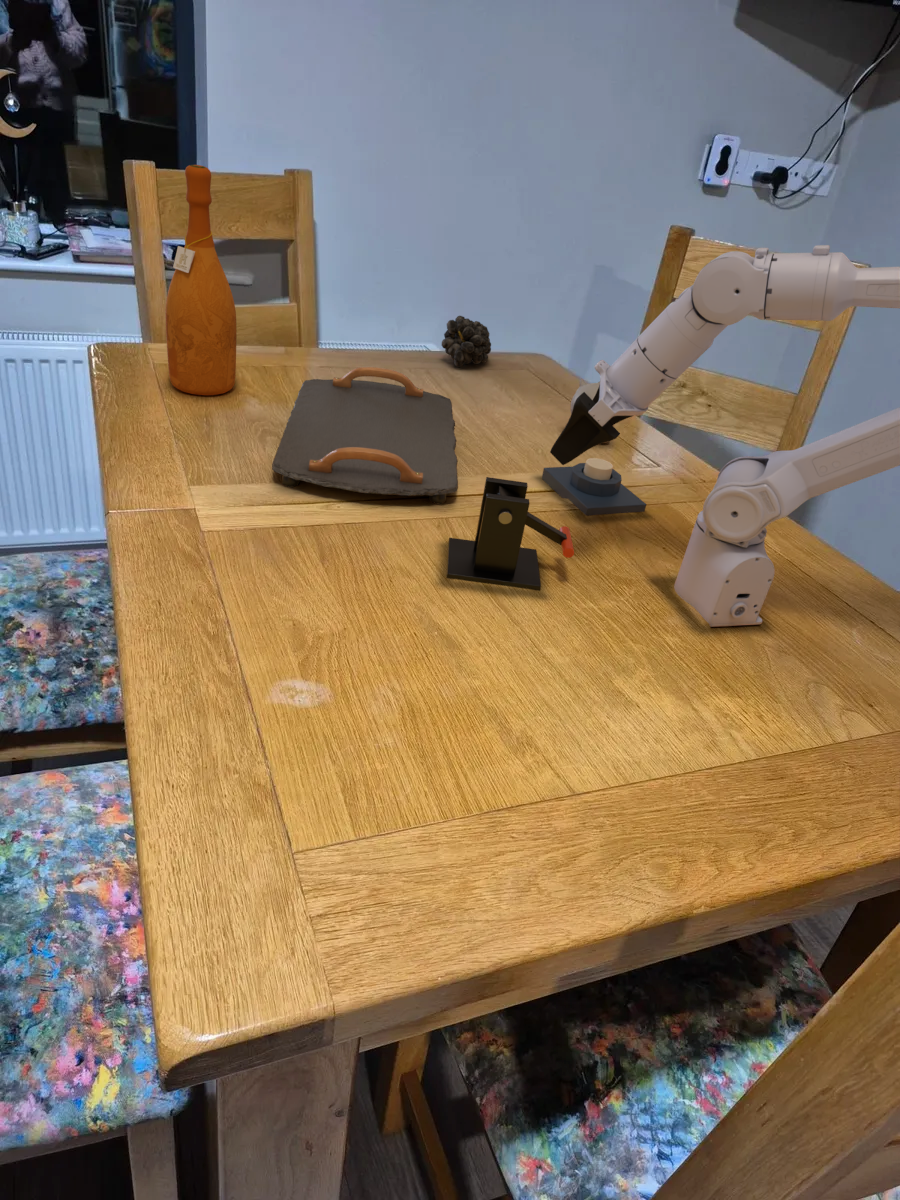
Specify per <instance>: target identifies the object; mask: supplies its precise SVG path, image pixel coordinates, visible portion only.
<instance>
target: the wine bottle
mask: <svg viewBox="0 0 900 1200" xmlns="http://www.w3.org/2000/svg"><path fill="white" fill-rule="evenodd" d="M184 176H185V181H186V183H185V185H186V194H185V201H186V202H187V203H188V222H187V223H188V224H187V225H188V226H187V230H186V234H185V236H184V247H183V246H180V245H178V246H177V249H176V253H175V257H174V262H173V266H172V268H173V269H175V270H174V272H173V275H172V277H171V280H170V283H169V287H168V291H167V295H166V299H165V301H166V302H165V335H166V336H165V337H166V351H167V352H166V353H167V365H168V366H167V367H168V375H169V381H170V383H171V385H172V386H173V387H174V388H175V389H177V390H178V391H181V392H184V393H185V394H191V395H197V396H217V395H222V394H225V393H227V392H230V391H231V390H232V389H233V388H234V386H235V383H236V373H237V371H236V370H237V311H236V310H237V309H236V304H235V300H234V296H233V292H232V290H231V286H230V284H229V281H228V278H227V276H226V273H225V271H224V269H223V266H222V264H221V261H220V259H219V256H218V253H217V251H216V248H215V247H216V246H215V242H214V237H213V231H212V228H211V220H210V219H211V218H210V217H211V216H210V205H212V203H213V202H212V201H213V200H212V195H211V184H212V183H211V182H212V172H211V170H210V169H209V168H208V167H206V166H205V165H200V164H189V165H187V166H186V167H185V170H184Z"/></svg>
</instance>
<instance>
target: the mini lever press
mask: <svg viewBox="0 0 900 1200" xmlns="http://www.w3.org/2000/svg"><path fill="white" fill-rule="evenodd" d="M499 486H501V487H503V488H504V489H506V490H508V491H509V492H511V493H513V494H514V495H516V496H518V497H519V498H517V497H510V496H503V495H496V494H494V493H495V491H496V490H497V489H498V487H499ZM528 487H529V486H528V482H524V481H517V480H511V479H504V478H503V479H502V478H496V477H489V476H486V478H485V482H484V488H483V494H482V498H481V499H482V500H481V505H480V510H479V516H478V520H477V528H476V533H475V538H474V540H470V539H463V538H456V537H448V543H447V545H448V547H447V559H446V560H447V562H446V563H447V564H446V579H451V580H460V581H464V582H465V581H466V582H473V583H481V584H488V585H496V586H503V587H508V588H509V587H510V588H518V589H524V590H533V591H541V588H542V583H541V576H540V568H539V559H538V551H537V549H535V548H528V547H521V545H522V542H523V536H524V532H525V527H526V525H525V523H526V518H527V513H528V512H529V508H530V504H531V503H530V499H529V498H526V496H527V492H528Z"/></svg>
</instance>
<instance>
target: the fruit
mask: <svg viewBox="0 0 900 1200" xmlns="http://www.w3.org/2000/svg"><path fill="white" fill-rule="evenodd" d="M446 329H447V330H446V331H445V332H444V333H443V336H444V338H443V339H442V341H441V347H442V349H444V351H445V354H446V355H449V356H450V358H451V359H452V360H453V361H454V366H455V367H458V368H461V367H463V366H464V364H466V365H467V364H470V363H471V362H472V363H473V364H476V365H477V364H480V363H486V362H487V361H488V359H489V354H490V353H491V351H492V343H491V340H490V331H489V329H488V326H486V325H484V324H483V323H481V322H480V321H477V320H475V321H473V320H471V319H470V318H465V316H463V315H457V316H456V318H455V320H454V319H450V320H447V323H446Z"/></svg>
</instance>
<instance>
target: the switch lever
mask: <svg viewBox="0 0 900 1200" xmlns="http://www.w3.org/2000/svg"><path fill="white" fill-rule="evenodd" d="M494 494H496V495H503V496H510V497H517V498H519V497H518V496H516V495H514V494H513V493H511V492H509V491H508V490H506V489H504V488H503V487H501V486H499V487H498V489H497V490H496V491H495V493H494ZM525 526H527V527H529V528H530V529H532V530H534V531H535V532H537V533H539V534H540V535H543V536H544V537H545V538H547V539H549V540H550V541H552V542H554V543H555V544H557V545H559V546H561V551H562V556H563V557H565V558H568V559H569V558H570V559H571V558H572V557H574V555H575V549H574V544H573V539H572V534H571V529H570V527H568V526H567V525H564V526H563V525H562V526H561V527H560V528H559V529H557V528H556V527H555V526H552V525H551V524H549V523H548V522H546V521H544V520H542V519H541V518H539V517H538V516H535V515H534V514H532V513H530V512H529V511H528V513H527V518H526V523H525Z"/></svg>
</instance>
